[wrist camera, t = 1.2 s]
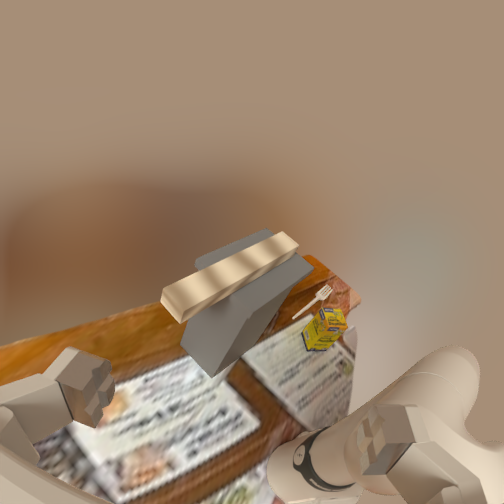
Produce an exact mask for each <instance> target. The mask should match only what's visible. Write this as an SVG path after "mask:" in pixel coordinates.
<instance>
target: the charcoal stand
mask: <svg viewBox="0 0 504 504" xmlns="http://www.w3.org/2000/svg"><path fill="white" fill-rule="evenodd" d="M272 236H274V234H273V233H272V232H271V231H269V230H268V229H267V228H265V229H263V230H261V231H258V232H256V233H254V234H251V235H249V236H247V237H245V238H242V239H240V240H238V241H235V242H233V243H231V244H228V245H226V246H224V247H222V248H219V249H217V250H215V251H213V252H210V253H208V254H206V255H203V256H201V257H199V258H197V259H196V262H195V266H196V267H197V268H198V269H199V270H202V269H205V268H207V267H209V266H211V265H213V264H215V263H217V262H219V261H221V260H223V259H225V258H228V257H230V256H232V255H234V254H236V253H238V252H240V251H242V250H244V249H246V248H249V247H251V246H253V245H255V244H257V243H259V242H261V241H263V240H265V239H267V238H270V237H272ZM313 269H314V267H313V266H312V265H310V264H309V263H308V262H307V261H306V260H304V259H303V258H302V257H301V256H300V255H298V254H297V253H296V252H295V254H294V256H293V257H291V258H290V259H288V260H286V261H285V262H283V263H281V264H280V265H278V266H276V267H275V268H273V269H272V270H270V271H268V272H267V273H265V274H263V275H262V276H260V277H258V278H257V279H255V280H253V281H252V282H250V283H248V284H247V285H245V286H243V287H242V288H240V289H238V290H237V291H235V292H233V293H232V294H230V295H228V296H227V297H225V298H223V299H222V300H220V301H218V302H217V303H215V304H213V305H211V306H210V307H208V308H206V309H205V310H203V311H201V312H200V313H198V314H196V315H194V316H193V317H191V318H189V320H188V323H187V326H186V329H185V332H184V335H183V337H182V340H181V343H180V345H181V346H182V347H183V348H184V349H185V350H186V352H187V353H188V354H189V355H190V356H191V357H192V358H193V359H194V360H195V361H196V362H197V363H198V365H199V366H200V367H201V368H202V369H203V370H204V371H205V372H206V373H207V374H208V375H209V376H210V377H211V378H213V377H214V376H216V375H217V374H218V373H219V372H221V371H222V370H223V369H225V368H226V367H227V366H229V365H230V364H231V363H232V362H234V361H235V360H236V359H238V358H239V357H240V356H241V355H243V354H244V353H245V352H246V351H248V350H249V349H250V348H251V347H253V346H254V345H255V343H256V342H257V340H258V339H259V337H260V336H261V334H262V333H263V331H264V330H265V328H266V327H267V325H268V324H269V322H270V321H271V319H272V318H273V316H274V315H275V313H276V312H277V310H278V309H279V307H280V306H281V304H282V303H283V301H284V300H285V298H286V297H287V295H288V294H289V292H290V291H291V289H292V288H293V286H295V285H296V284H297V283H299V282H300V281H301V280H303V279H304V278H305V277H307V276H308V275H309V274H311V272H312V271H313Z"/></svg>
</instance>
